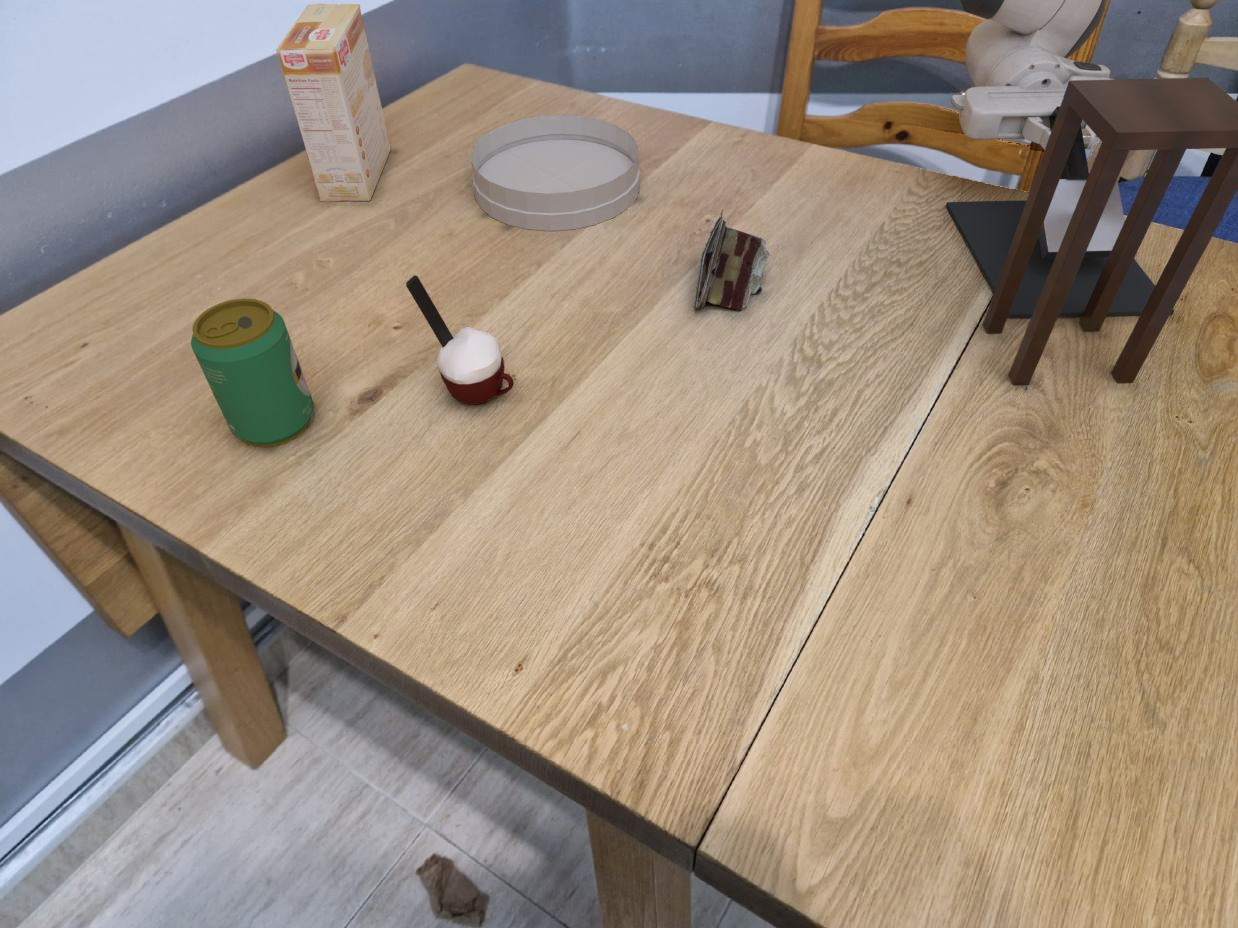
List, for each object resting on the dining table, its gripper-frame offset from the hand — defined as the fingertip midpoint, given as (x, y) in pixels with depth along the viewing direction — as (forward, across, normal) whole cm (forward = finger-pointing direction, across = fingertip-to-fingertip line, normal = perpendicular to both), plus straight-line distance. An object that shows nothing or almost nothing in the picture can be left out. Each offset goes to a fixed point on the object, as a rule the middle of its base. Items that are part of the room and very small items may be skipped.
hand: (1071, 143), depth 99 cm
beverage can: (+32, -86, +11) cm, 92 cm away
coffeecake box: (-17, -88, +11) cm, 90 cm away
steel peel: (+3, 0, +4) cm, 5 cm away
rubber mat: (+6, -1, +11) cm, 13 cm away
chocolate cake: (+11, -39, +11) cm, 42 cm away
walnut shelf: (+24, -7, +11) cm, 27 cm away
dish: (-13, -60, +11) cm, 62 cm away
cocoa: (+28, -67, +11) cm, 73 cm away
